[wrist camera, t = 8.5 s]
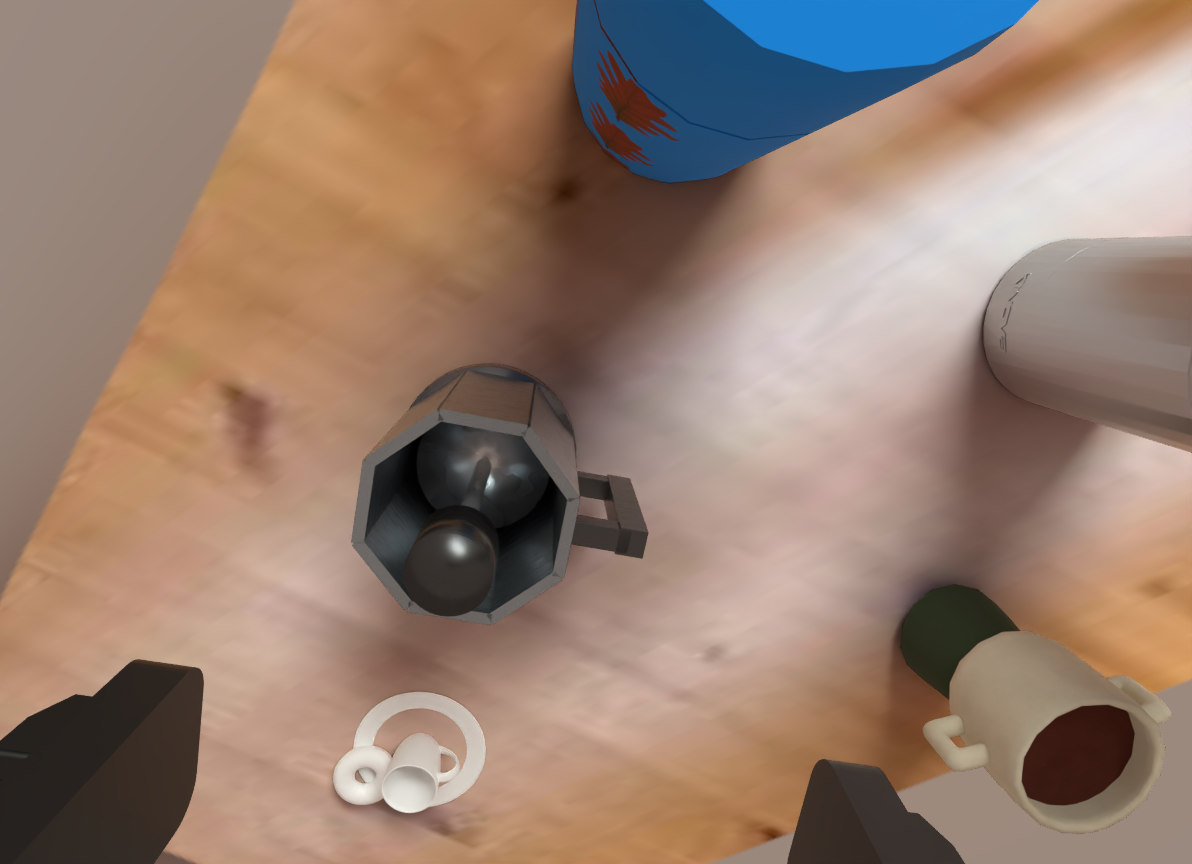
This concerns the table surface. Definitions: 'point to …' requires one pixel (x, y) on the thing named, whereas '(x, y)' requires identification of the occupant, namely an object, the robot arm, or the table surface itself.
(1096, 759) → the character mug
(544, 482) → the plunger
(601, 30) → the thermos
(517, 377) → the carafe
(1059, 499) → the table surface
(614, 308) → the table surface
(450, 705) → the teacup and saucer
